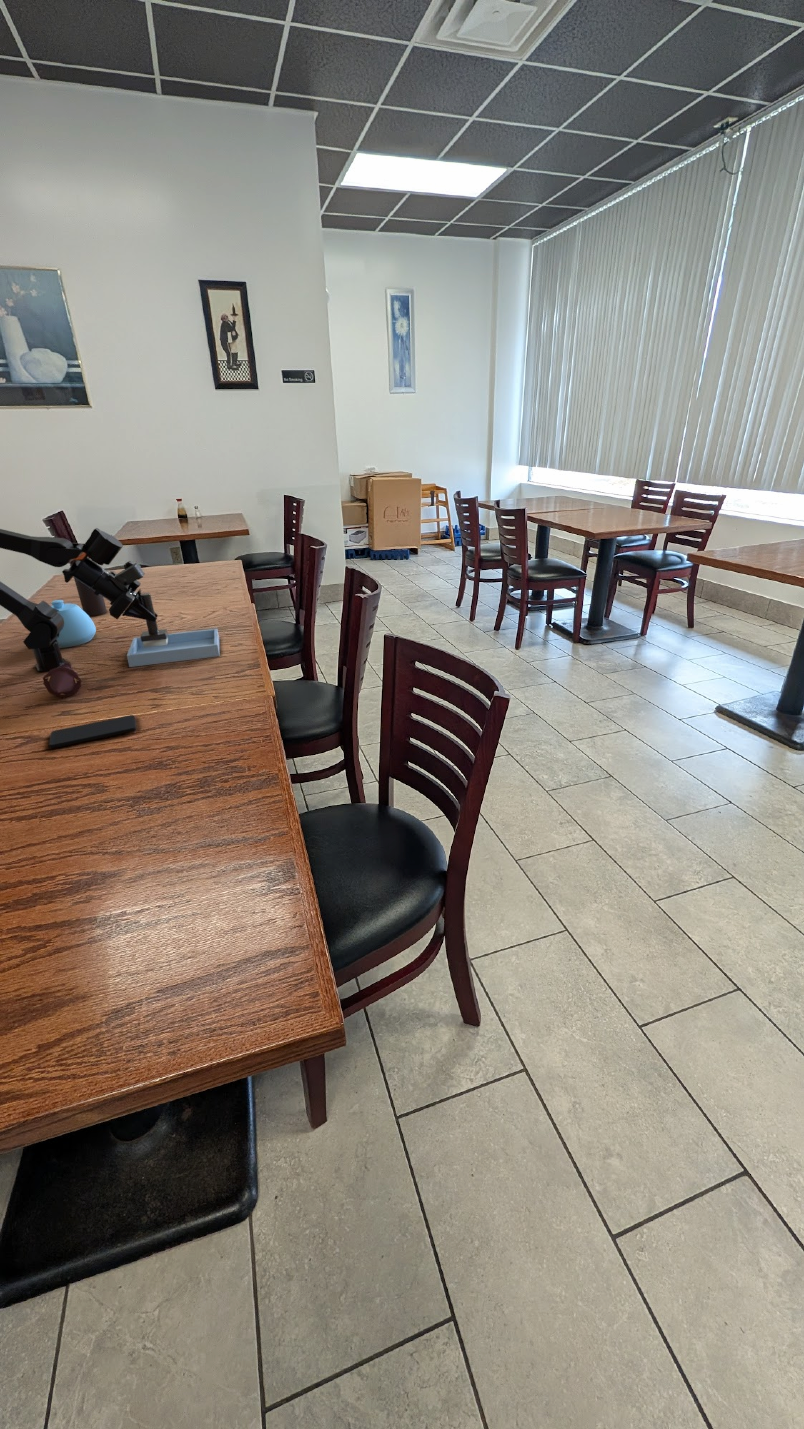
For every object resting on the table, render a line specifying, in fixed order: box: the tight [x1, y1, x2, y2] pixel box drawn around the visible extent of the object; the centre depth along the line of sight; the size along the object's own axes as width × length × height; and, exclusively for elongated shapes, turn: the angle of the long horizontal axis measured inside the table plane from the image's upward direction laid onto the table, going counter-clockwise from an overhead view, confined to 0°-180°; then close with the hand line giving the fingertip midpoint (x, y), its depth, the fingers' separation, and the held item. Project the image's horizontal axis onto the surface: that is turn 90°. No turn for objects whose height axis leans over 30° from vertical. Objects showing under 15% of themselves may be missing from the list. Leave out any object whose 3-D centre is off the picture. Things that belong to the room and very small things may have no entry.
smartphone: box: [48, 714, 137, 749], centre depth 112 cm, size 7×1×15 cm
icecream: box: [42, 661, 82, 698], centre depth 129 cm, size 7×7×15 cm
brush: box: [140, 592, 169, 647], centre depth 149 cm, size 6×4×13 cm
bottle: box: [72, 553, 108, 617], centre depth 187 cm, size 7×7×20 cm
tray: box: [126, 628, 220, 668], centre depth 153 cm, size 22×15×3 cm
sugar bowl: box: [50, 599, 97, 649], centre depth 163 cm, size 15×15×12 cm
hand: (156, 618), depth 149 cm, fingers closed on brush, 2 cm apart
